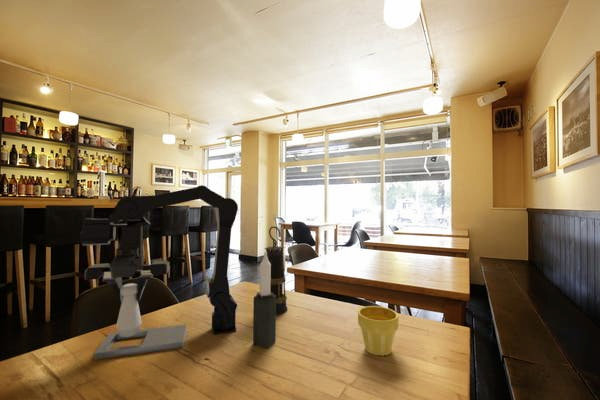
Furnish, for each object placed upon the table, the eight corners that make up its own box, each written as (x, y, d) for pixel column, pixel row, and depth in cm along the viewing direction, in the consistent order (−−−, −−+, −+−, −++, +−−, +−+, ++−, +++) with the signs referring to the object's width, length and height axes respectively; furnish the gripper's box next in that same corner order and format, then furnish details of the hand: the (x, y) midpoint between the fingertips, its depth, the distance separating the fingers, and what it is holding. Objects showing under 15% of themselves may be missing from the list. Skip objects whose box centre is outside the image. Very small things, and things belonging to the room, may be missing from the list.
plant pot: (350, 351, 73) (351, 313, 73) (367, 336, 82) (367, 302, 82) (390, 365, 67) (390, 324, 67) (403, 348, 75) (403, 311, 75)
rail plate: (186, 329, 84) (186, 324, 84) (183, 347, 74) (183, 341, 74) (109, 338, 78) (109, 333, 78) (93, 359, 68) (93, 353, 68)
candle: (277, 340, 78) (278, 251, 79) (267, 349, 74) (268, 254, 74) (261, 336, 81) (262, 249, 81) (251, 344, 76) (252, 252, 76)
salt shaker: (129, 339, 72) (130, 288, 72) (110, 337, 73) (111, 287, 73) (146, 329, 77) (146, 282, 77) (128, 327, 78) (129, 281, 78)
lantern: (277, 303, 107) (278, 224, 107) (292, 310, 100) (294, 226, 100) (257, 309, 101) (258, 226, 101) (272, 317, 94) (273, 227, 94)
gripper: (74, 249, 65) (73, 317, 65) (163, 246, 70) (163, 308, 70) (93, 242, 75) (93, 301, 75) (169, 240, 81) (169, 294, 81)
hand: (129, 301), depth 75 cm, fingers closed on salt shaker, 4 cm apart
